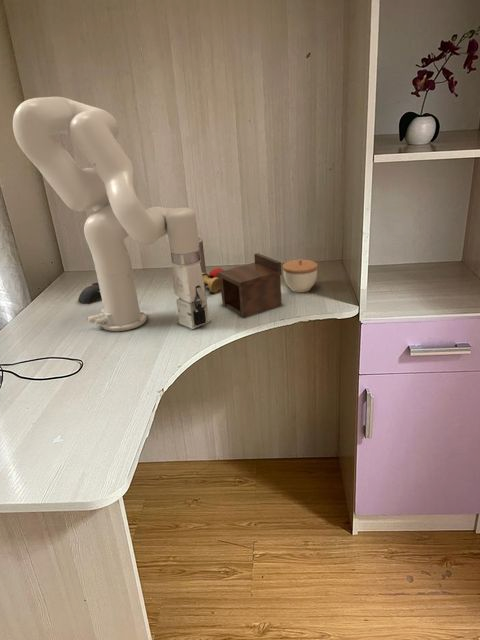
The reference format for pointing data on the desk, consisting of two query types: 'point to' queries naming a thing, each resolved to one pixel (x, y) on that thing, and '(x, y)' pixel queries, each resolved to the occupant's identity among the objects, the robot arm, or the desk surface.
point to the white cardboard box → (188, 313)
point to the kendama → (212, 280)
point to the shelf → (252, 286)
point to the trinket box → (300, 274)
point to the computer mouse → (90, 294)
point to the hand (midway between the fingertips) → (193, 319)
